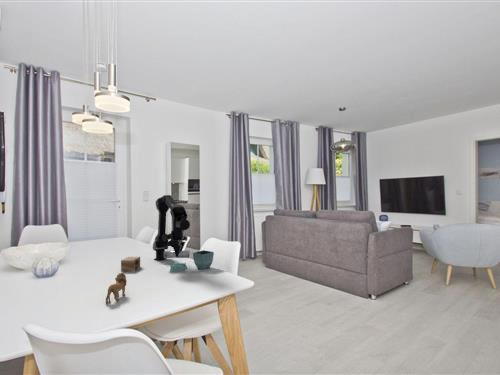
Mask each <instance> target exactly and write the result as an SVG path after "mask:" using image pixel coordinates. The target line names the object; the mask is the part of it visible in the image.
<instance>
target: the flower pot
mask: <svg viewBox="0 0 500 375" xmlns="http://www.w3.org/2000/svg"><path fill="white" fill-rule="evenodd" d="M214 254H215V253H214V251H210V250H205V249H204V250H198V251H195V252H193V253H192V257H193V261H194V262H193V263H194V264H195V267H196V268H197V269H200V270H205V269H208V268H210V267H211V266H212V264H213V261H214Z"/></svg>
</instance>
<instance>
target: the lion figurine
mask: <svg viewBox="0 0 500 375" xmlns="http://www.w3.org/2000/svg"><path fill="white" fill-rule="evenodd" d="M114 280H115V282H116V283H113V284H110V285H109V286H108V288H107V294H106V298H105V304H109V305H111V303H112V300H111V295H112V294H113V296H114V300H115V301H116V302H119V301H120V299H119V298H118V297H119V296H120V291H121V290H122V293H121V296H123V297H124V296H126V287H127V277H126V274H125V273H123V272H119V273H117V275H116V277H115V278H114Z"/></svg>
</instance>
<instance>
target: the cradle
mask: <svg viewBox="0 0 500 375" xmlns="http://www.w3.org/2000/svg"><path fill="white" fill-rule="evenodd" d="M186 268H187V264H186V262H184V263H183V262H180V263H179V262H173V263H172V264H171V265H170V268H169V271H170V272H182V271H184V270H185V269H186Z"/></svg>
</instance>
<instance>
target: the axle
mask: <svg viewBox="0 0 500 375" xmlns="http://www.w3.org/2000/svg"><path fill="white" fill-rule="evenodd" d="M190 257H191V251H190V250H182V251H180V252H179V255H178V257H176V255H175V252H174V250H165V251H164V258H166V259H190Z"/></svg>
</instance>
